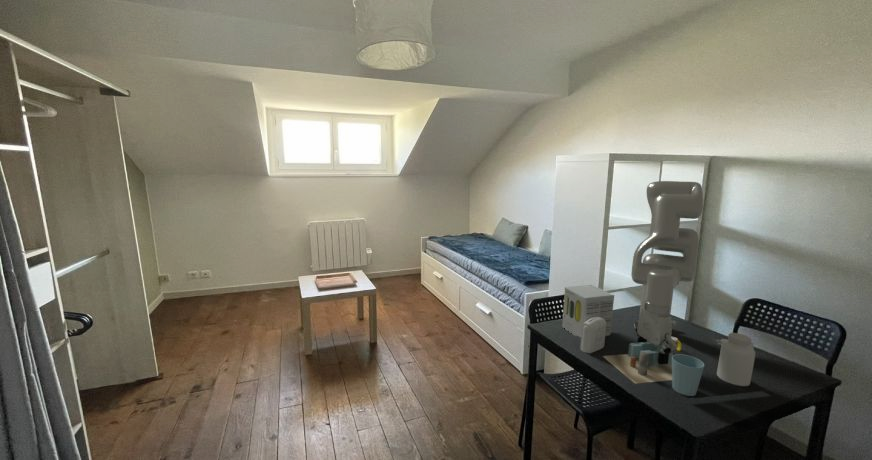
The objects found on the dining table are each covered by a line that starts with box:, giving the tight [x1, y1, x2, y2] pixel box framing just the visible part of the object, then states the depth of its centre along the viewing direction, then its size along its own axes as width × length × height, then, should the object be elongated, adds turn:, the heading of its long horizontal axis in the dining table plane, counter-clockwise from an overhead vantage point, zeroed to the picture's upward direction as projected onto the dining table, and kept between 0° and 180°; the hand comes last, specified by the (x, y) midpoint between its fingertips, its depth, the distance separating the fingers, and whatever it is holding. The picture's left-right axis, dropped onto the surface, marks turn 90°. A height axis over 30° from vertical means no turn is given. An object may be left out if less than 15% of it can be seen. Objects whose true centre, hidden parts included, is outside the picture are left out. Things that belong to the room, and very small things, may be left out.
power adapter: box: [711, 338, 755, 349], centre depth 127 cm, size 11×5×6 cm, turn 63°
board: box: [602, 352, 672, 385], centre depth 116 cm, size 20×16×8 cm
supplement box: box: [562, 284, 615, 338], centre depth 141 cm, size 13×13×18 cm
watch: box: [664, 336, 682, 352], centre depth 126 cm, size 6×3×6 cm, turn 98°
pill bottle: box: [716, 332, 756, 387], centre depth 109 cm, size 8×8×15 cm
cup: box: [671, 353, 705, 400], centre depth 103 cm, size 8×8×10 cm
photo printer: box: [579, 317, 606, 354], centre depth 127 cm, size 10×4×12 cm, turn 123°
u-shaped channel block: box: [627, 341, 674, 366], centre depth 120 cm, size 10×7×4 cm
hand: (651, 356), depth 120 cm, fingers open, 9 cm apart
